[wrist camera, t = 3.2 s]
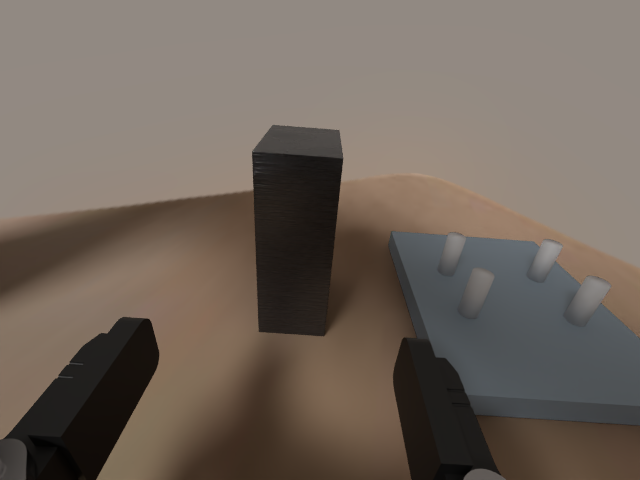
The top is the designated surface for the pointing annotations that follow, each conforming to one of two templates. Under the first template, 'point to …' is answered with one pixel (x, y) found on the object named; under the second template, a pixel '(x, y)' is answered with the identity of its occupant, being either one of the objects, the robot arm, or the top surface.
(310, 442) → the top surface
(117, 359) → the robot arm
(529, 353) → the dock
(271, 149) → the block
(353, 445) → the top surface
